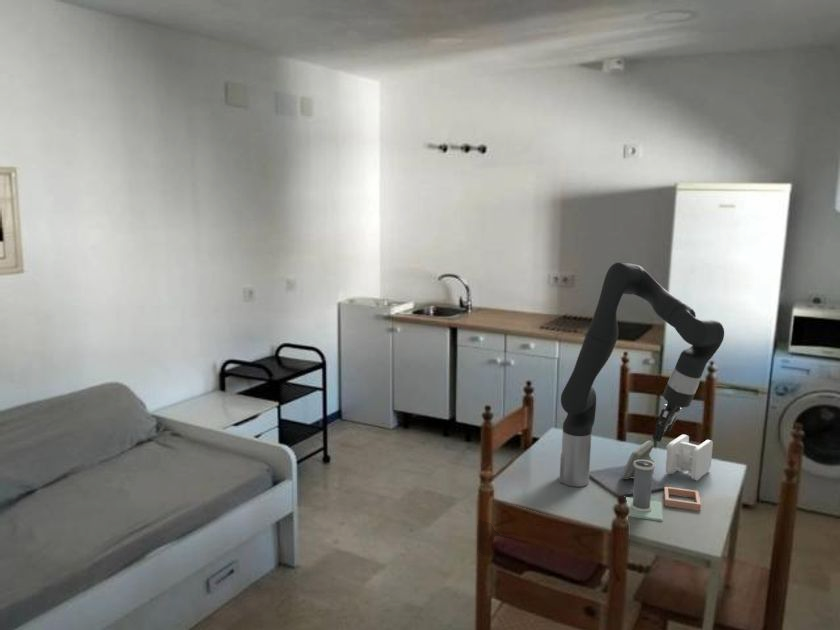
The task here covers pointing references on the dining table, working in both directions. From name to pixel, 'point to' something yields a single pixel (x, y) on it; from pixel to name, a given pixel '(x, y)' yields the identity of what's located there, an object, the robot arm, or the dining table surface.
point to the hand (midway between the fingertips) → (661, 435)
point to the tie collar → (680, 503)
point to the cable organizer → (689, 456)
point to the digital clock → (638, 454)
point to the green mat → (652, 515)
